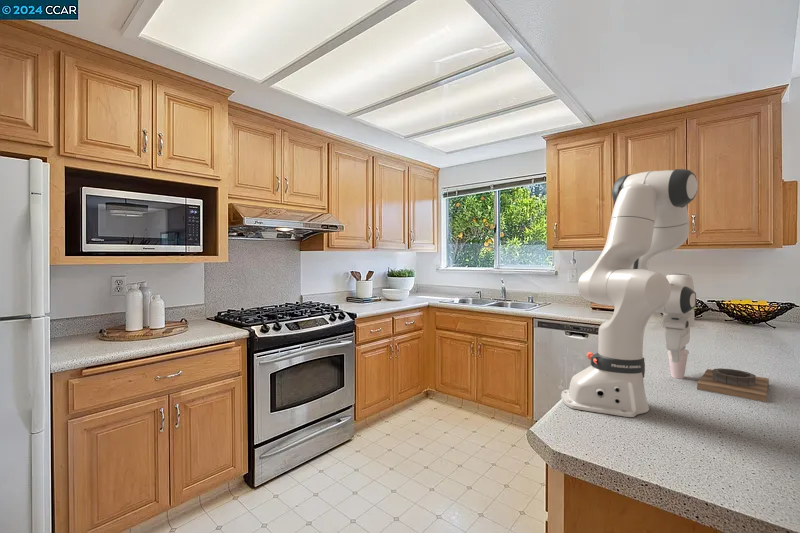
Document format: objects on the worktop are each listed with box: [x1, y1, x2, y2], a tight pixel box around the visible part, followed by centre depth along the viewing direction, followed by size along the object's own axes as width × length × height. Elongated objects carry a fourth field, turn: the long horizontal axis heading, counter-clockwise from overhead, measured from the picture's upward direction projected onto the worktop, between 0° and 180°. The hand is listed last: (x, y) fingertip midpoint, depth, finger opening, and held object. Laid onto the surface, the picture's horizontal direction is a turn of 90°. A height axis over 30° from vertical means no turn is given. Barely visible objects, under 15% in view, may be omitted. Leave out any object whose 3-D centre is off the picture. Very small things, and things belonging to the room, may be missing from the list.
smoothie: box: [666, 348, 690, 380], centre depth 137 cm, size 6×6×14 cm
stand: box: [696, 368, 770, 403], centre depth 126 cm, size 22×16×4 cm
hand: (678, 359), depth 137 cm, fingers open, 8 cm apart
